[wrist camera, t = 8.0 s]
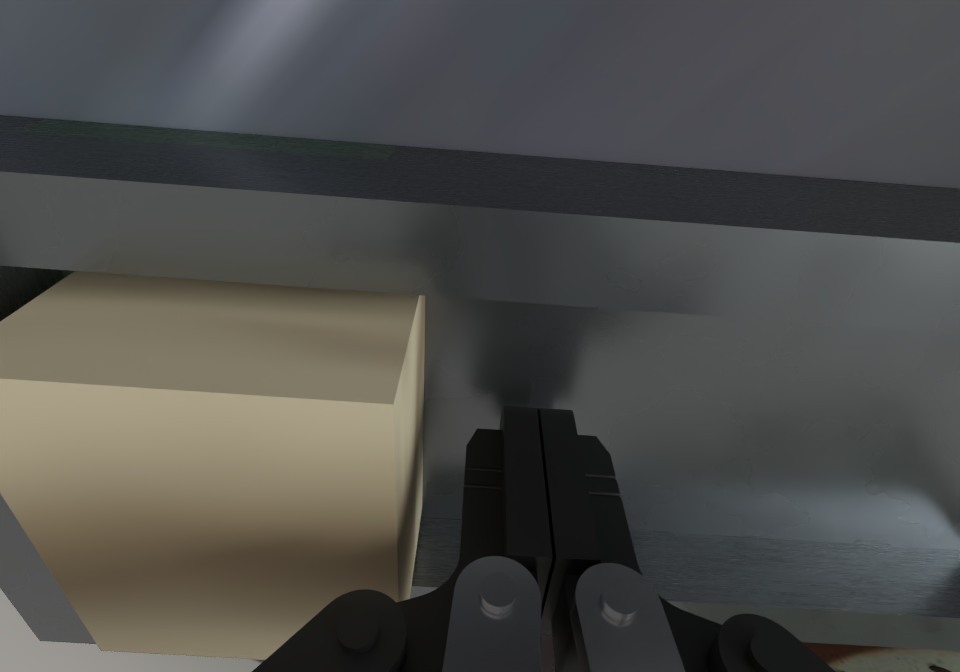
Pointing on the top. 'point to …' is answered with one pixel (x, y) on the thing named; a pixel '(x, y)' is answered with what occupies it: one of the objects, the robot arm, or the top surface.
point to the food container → (885, 658)
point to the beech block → (213, 453)
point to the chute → (583, 342)
